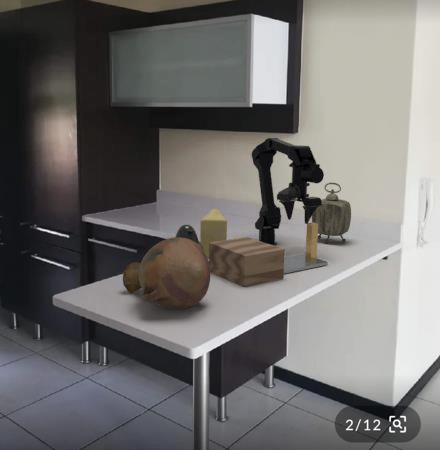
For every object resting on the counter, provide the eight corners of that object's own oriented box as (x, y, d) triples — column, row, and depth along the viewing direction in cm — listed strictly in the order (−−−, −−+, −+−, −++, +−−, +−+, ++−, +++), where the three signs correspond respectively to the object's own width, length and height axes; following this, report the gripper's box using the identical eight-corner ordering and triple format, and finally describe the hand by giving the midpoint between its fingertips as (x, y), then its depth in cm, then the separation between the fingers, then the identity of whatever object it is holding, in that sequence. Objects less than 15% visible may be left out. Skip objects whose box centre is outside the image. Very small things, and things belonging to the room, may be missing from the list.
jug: (223, 311, 153) (160, 300, 176) (227, 239, 154) (164, 238, 177) (162, 313, 140) (102, 301, 162) (167, 235, 141) (107, 234, 163)
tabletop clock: (349, 242, 234) (353, 183, 229) (342, 246, 226) (346, 185, 221) (316, 238, 241) (319, 180, 236) (308, 242, 233) (312, 182, 228)
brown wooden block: (208, 271, 190) (209, 242, 188) (246, 264, 199) (246, 236, 197) (244, 287, 174) (245, 255, 172) (283, 278, 183) (284, 249, 181)
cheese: (203, 243, 228) (203, 207, 225) (227, 244, 228) (227, 208, 225) (199, 258, 206) (200, 218, 203) (226, 258, 206) (227, 218, 203)
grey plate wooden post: (271, 276, 184) (273, 234, 182) (247, 266, 195) (248, 227, 192) (327, 264, 199) (329, 226, 196) (302, 256, 209) (304, 219, 207)
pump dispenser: (178, 273, 187) (178, 228, 184) (166, 265, 196) (166, 222, 193) (206, 269, 192) (206, 226, 189) (193, 262, 201) (193, 220, 198)
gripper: (266, 178, 209) (265, 219, 213) (300, 184, 194) (298, 228, 198) (288, 176, 216) (287, 216, 219) (323, 182, 201) (321, 225, 204)
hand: (297, 221), depth 210 cm, fingers open, 9 cm apart
